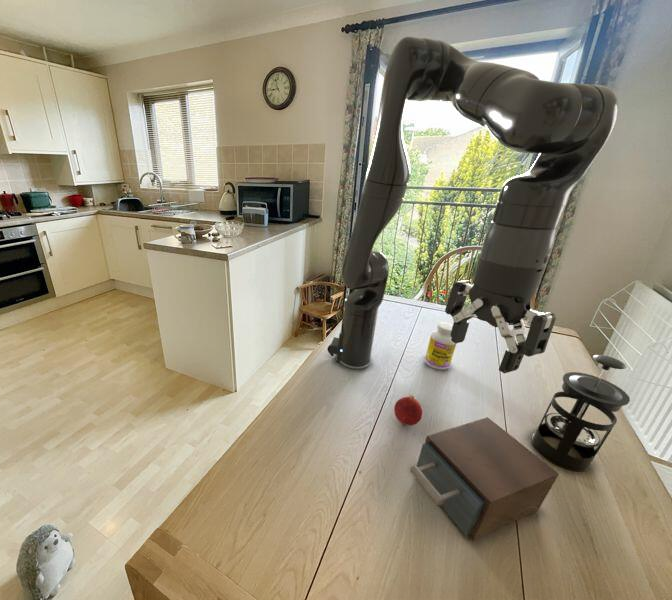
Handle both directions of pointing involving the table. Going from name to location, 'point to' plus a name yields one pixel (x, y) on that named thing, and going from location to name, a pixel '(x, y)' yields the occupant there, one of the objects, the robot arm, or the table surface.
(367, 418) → the table surface
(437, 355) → the supplement bottle
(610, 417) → the french press
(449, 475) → the drawer
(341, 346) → the robot arm
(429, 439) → the cabinet
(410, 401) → the red round piece
